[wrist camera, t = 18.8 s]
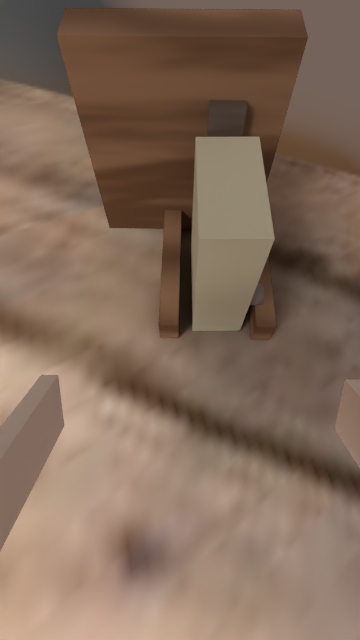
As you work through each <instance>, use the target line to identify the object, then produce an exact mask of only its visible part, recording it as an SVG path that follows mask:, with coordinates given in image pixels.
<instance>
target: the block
mask: <svg viewBox="0 0 360 640" xmlns="http://www.w3.org/2000/svg"><path fill="white" fill-rule="evenodd" d="M274 239H275V237H274V231H273V224H272V217H271V211H270V204H269V197H268V191H267V184H266V177H265V171H264V164H263V157H262V151H261V144H260V137H196V139H195V164H194V188H193V213H192V237H191V287H192V331H240V329H241V326H242V324H243V321H244V318H245V316H246V313H247V311H248V308H249V305H262V304H263V301H264V287H263V284H258V282H259V279H260V276H261V274H262V271H263V268H264V266H265V263H266V260H267V258H268V255H269V253H270V250H271V247H272V245H273V242H274Z"/></svg>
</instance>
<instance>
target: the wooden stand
mask: <svg viewBox="0 0 360 640" xmlns="http://www.w3.org/2000/svg"><path fill="white" fill-rule="evenodd" d="M57 39H58V43H59V46H60V50H61V53H62V57H63V61H64V64H65V68H66V72H67V75H68V79H69V82H70V86H71V89H72V93H73V97H74V100H75V104H76V108H77V111H78V115H79V118H80V122H81V126H82V129H83V133H84V136H85V140H86V144H87V147H88V151H89V154H90V158H91V162H92V165H93V169H94V172H95V176H96V180H97V183H98V187H99V191H100V194H101V198H102V201H103V205H104V209H105V212H106V216H107V219H108V223H109V227H110V228H159V229H164V236H163V254H162V272H161V291H160V309H159V331H160V337H161V338H178V334H179V298H180V261H181V229H192V213H193V188H194V164H195V139H196V137H260V144H261V151H262V157H263V164H264V171H265V177H266V184H267V180H268V177H269V173H270V169H271V166H272V162H273V159H274V155H275V152H276V148H277V144H278V141H279V138H280V134H281V131H282V127H283V124H284V120H285V116H286V113H287V109H288V106H289V102H290V99H291V95H292V92H293V88H294V85H295V81H296V78H297V74H298V71H299V67H300V64H301V60H302V56H303V53H304V49H305V46H306V42H307V39H308V37H307V32H306V28H305V25H304V20H303V16H302V12H301V10H268V9H265V10H263V9H259V10H258V9H146V8H141V9H140V8H139V9H138V8H137V9H134V8H65V11H64V14H63V17H62V20H61V23H60V26H59V29H58V32H57ZM258 284H263V287H264V301H263V304H262V305H249V322H250V336H251V339H259V340H269V339H270V337H271V335H272V334H273V332H274V330H275V329H276V319H275V310H274V300H273V291H272V281H271V272H270V263H269V255H268V258H267V260H266V263H265V266H264V268H263V271H262V274H261V276H260V279H259V282H258Z"/></svg>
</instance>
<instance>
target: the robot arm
mask: <svg viewBox="0 0 360 640" xmlns="http://www.w3.org/2000/svg"><path fill="white" fill-rule="evenodd" d="M63 427H64V420H63V411H62V403H61V395H60V387H59V379H58V375H41V376H40V377H39V379H38V380H37V381H36V383H35V384H34V385H33V386H32V388H31V389H30V390H29V392H28V393H27V394H26V395H25V397H24V398H23V399H22V401H21V402H20V403H19V404H18V406H17V407H16V408H15V410H14V411H13V412H12V413H11V415H10V416H9V417H8V419H7V420H6V421H5V422H4V424H3V425H2V426H1V428H0V551H1V549H2V547H3V545H4V543H5V541H6V539H7V537H8V535H9V533H10V531H11V529H12V527H13V525H14V523H15V521H16V519H17V517H18V515H19V513H20V511H21V509H22V507H23V505H24V504H25V502H26V500H27V498H28V496H29V494H30V492H31V490H32V488H33V486H34V484H35V482H36V480H37V478H38V476H39V474H40V472H41V470H42V468H43V466H44V464H45V462H46V460H47V458H48V456H49V454H50V453H51V451H52V449H53V447H54V445H55V443H56V441H57V439H58V437H59V435H60V433H61V431H62V429H63ZM335 431H336V432H337V434H338V435H339V437H340V438H341V440H342V441H343V443H344V444H345V446H346V447H347V449H348V450H349V452H350V454H351V455H352V457H353V458H354V460H355V461H356V463H357V464H358V466H359V467H360V380H359V379H345V381H344V386H343V391H342V396H341V401H340V406H339V411H338V416H337V421H336V426H335Z"/></svg>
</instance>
